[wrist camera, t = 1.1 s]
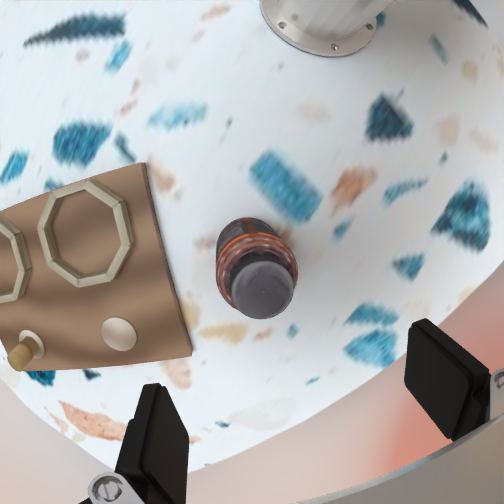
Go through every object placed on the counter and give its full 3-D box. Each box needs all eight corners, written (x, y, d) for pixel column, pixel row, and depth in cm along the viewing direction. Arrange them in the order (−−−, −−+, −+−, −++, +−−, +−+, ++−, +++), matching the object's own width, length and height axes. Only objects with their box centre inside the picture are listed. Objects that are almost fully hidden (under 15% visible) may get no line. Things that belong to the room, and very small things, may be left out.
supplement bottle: (207, 264, 30) (200, 317, 19) (229, 207, 29) (233, 230, 18) (264, 284, 31) (286, 342, 20) (287, 229, 30) (323, 263, 19)
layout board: (-31, 226, 26) (-60, 237, 20) (144, 162, 27) (125, 161, 21) (21, 365, 31) (1, 389, 25) (192, 348, 32) (188, 382, 26)
